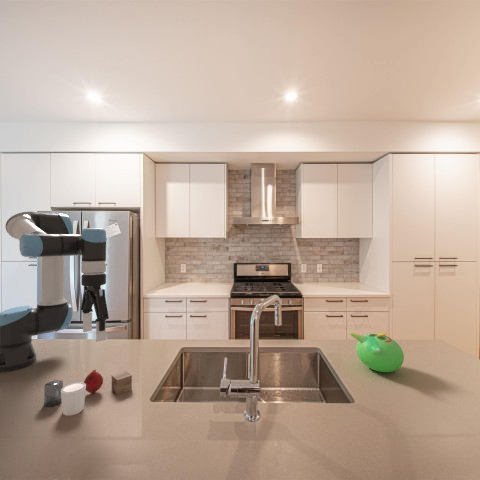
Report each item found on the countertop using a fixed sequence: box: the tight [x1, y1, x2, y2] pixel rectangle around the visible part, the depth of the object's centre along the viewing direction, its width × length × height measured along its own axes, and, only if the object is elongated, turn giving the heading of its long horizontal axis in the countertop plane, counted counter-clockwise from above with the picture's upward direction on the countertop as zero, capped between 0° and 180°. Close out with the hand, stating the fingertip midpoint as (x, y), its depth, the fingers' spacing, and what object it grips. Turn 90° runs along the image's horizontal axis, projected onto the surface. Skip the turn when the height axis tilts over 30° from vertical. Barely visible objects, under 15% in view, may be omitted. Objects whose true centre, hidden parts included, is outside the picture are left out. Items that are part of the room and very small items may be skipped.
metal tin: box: [43, 379, 64, 408], centre depth 92 cm, size 5×5×6 cm
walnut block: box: [111, 370, 133, 396], centre depth 101 cm, size 5×5×5 cm
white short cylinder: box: [61, 381, 87, 417], centre depth 88 cm, size 7×7×7 cm
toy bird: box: [349, 332, 405, 373], centre depth 117 cm, size 18×17×15 cm
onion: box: [83, 368, 104, 394], centre depth 98 cm, size 6×6×8 cm
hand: (93, 335), depth 98 cm, fingers open, 13 cm apart
